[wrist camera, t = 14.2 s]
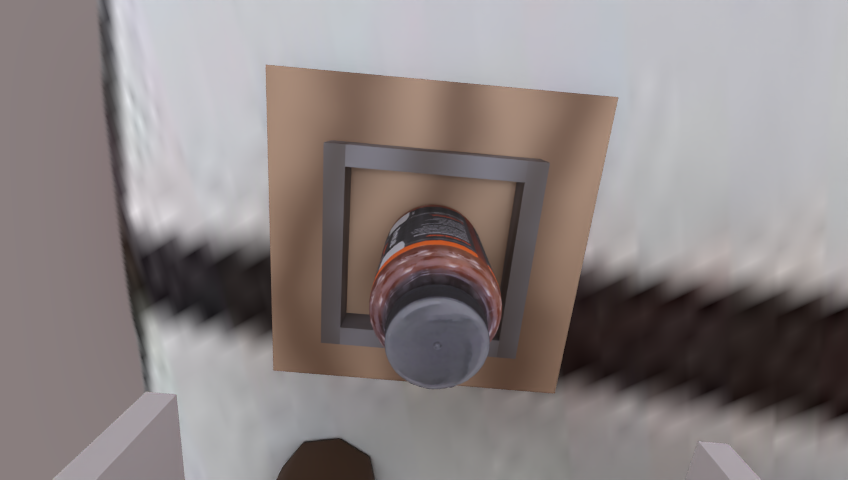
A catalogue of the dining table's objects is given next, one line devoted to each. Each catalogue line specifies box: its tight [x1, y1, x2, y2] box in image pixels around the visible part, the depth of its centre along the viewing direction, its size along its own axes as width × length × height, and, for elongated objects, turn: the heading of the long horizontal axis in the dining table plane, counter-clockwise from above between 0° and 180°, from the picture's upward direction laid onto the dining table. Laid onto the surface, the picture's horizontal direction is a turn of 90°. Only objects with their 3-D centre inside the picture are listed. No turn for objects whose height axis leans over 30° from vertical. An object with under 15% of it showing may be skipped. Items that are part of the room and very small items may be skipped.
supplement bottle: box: [369, 205, 502, 389], centre depth 20 cm, size 6×6×11 cm
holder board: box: [266, 65, 618, 393], centre depth 25 cm, size 20×20×3 cm
